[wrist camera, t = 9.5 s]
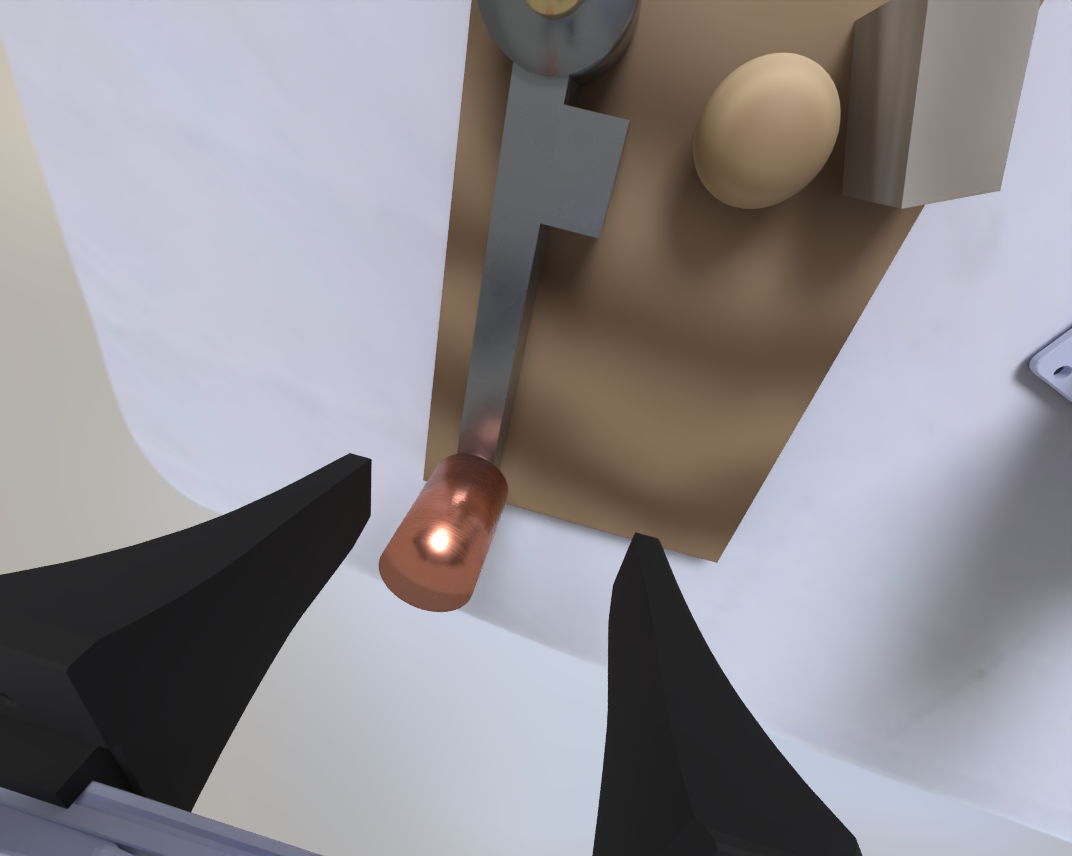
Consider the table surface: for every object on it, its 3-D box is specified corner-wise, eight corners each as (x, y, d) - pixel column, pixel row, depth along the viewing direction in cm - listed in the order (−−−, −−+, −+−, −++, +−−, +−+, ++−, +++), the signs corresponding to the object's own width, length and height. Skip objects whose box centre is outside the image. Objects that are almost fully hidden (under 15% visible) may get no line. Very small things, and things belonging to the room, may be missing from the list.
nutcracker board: (502, -138, 14) (434, -284, 9) (1027, -25, 13) (1241, -120, 9) (434, 463, 25) (388, 534, 21) (712, 541, 25) (731, 633, 20)
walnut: (714, 51, 14) (736, 23, 11) (839, 79, 14) (898, 59, 11) (670, 188, 16) (679, 197, 13) (779, 214, 16) (815, 231, 12)
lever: (516, -111, 13) (392, -378, 6) (682, -74, 13) (733, -312, 6) (442, 466, 23) (366, 592, 17) (534, 492, 23) (493, 630, 16)
